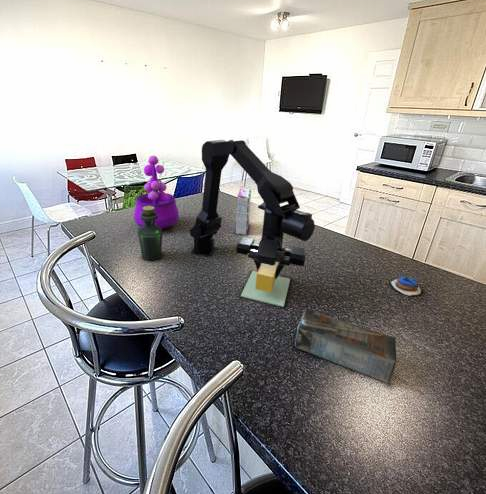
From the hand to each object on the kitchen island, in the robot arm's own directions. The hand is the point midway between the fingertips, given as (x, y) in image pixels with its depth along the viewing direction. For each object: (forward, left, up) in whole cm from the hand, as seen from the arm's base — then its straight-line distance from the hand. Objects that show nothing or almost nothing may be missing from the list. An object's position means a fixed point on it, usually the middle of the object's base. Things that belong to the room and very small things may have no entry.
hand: (267, 276), depth 85 cm
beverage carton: (+20, -18, -4) cm, 27 cm away
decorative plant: (-53, +27, -4) cm, 60 cm away
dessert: (+39, +16, -4) cm, 42 cm away
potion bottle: (-41, +3, -4) cm, 41 cm away
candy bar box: (-18, +38, -4) cm, 42 cm away
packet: (0, 0, -1) cm, 1 cm away
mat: (0, 0, -4) cm, 4 cm away
